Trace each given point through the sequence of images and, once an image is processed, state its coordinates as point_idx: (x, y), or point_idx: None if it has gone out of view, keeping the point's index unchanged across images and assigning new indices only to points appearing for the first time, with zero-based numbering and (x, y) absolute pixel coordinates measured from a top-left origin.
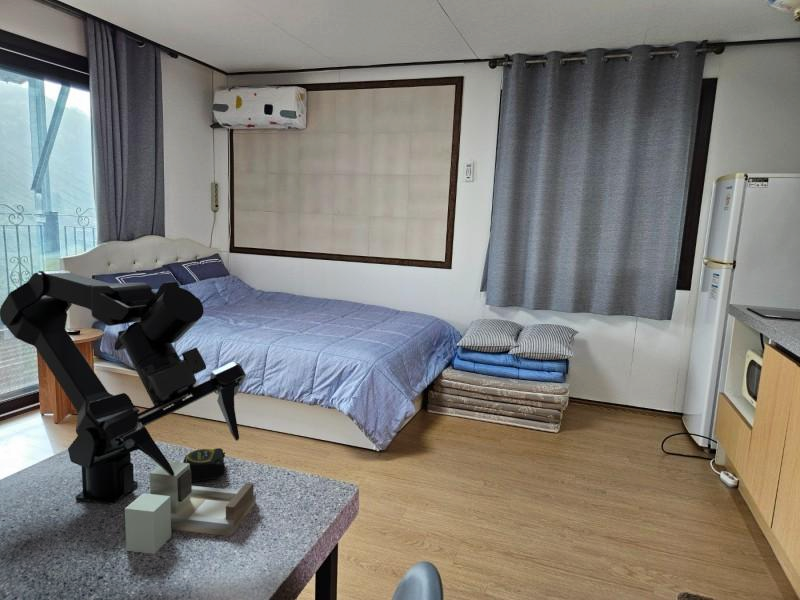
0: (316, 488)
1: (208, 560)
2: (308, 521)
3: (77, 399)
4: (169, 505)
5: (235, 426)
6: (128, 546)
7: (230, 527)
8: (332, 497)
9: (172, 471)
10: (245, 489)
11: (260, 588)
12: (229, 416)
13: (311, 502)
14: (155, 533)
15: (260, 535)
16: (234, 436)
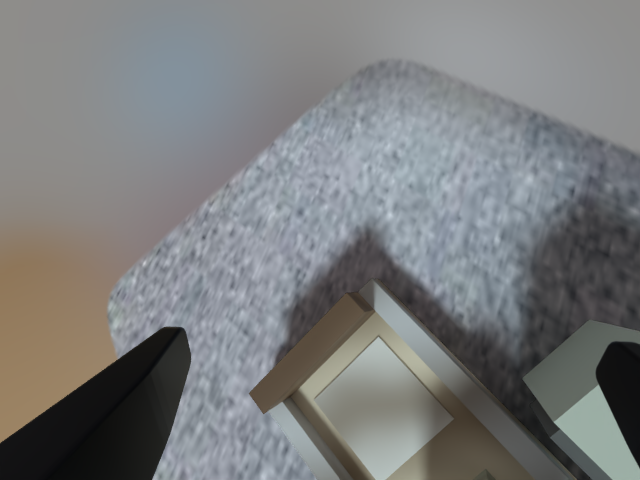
0: None
1: (459, 211)
2: (218, 237)
3: None
4: (550, 405)
5: (108, 378)
6: None
7: (374, 279)
8: (140, 296)
9: (633, 347)
10: (280, 373)
11: (392, 68)
12: (38, 462)
13: (179, 305)
14: (607, 330)
15: (320, 243)
16: (177, 362)
